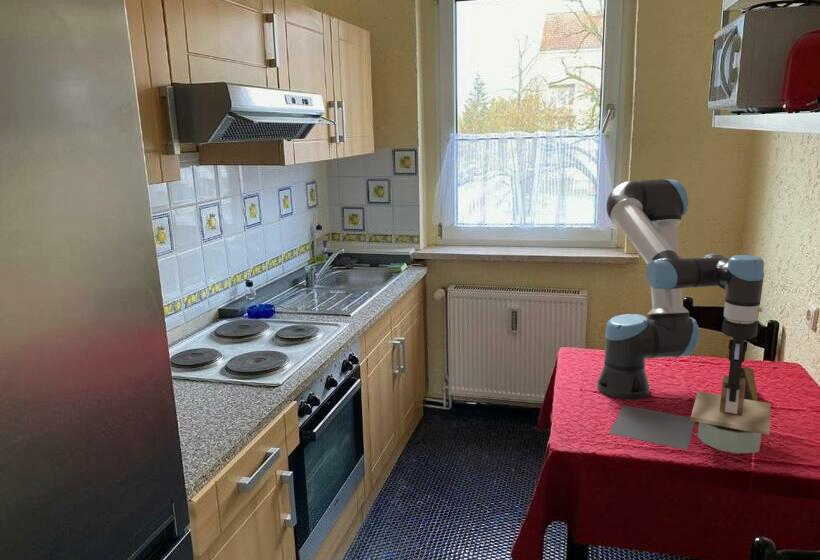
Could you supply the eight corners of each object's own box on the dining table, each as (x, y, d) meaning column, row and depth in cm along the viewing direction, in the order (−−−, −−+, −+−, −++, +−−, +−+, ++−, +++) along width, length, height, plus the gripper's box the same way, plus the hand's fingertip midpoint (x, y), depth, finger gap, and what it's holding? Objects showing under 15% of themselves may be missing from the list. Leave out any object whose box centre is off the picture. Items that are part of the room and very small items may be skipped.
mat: (608, 435, 161) (608, 433, 161) (623, 407, 177) (623, 405, 177) (687, 452, 152) (687, 449, 152) (695, 420, 168) (695, 418, 168)
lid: (690, 420, 152) (693, 386, 150) (697, 394, 166) (700, 363, 164) (769, 435, 144) (773, 399, 142) (769, 406, 158) (773, 374, 156)
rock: (741, 378, 189) (720, 381, 184) (761, 362, 183) (740, 364, 179) (764, 409, 183) (743, 412, 178) (786, 393, 177) (764, 396, 172)
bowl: (695, 447, 154) (697, 425, 153) (700, 424, 166) (702, 403, 165) (759, 460, 147) (761, 437, 146) (760, 435, 159) (762, 414, 158)
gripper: (757, 332, 140) (747, 425, 145) (759, 311, 155) (749, 397, 160) (720, 327, 143) (712, 419, 149) (725, 308, 159) (717, 391, 164)
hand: (731, 407), depth 155 cm, fingers closed on lid, 5 cm apart
